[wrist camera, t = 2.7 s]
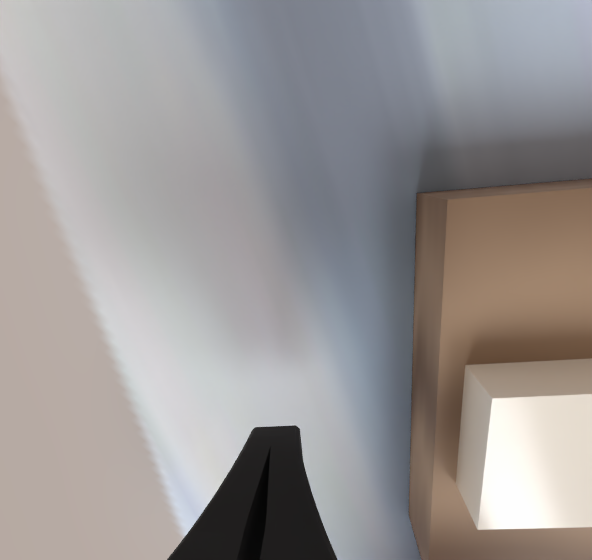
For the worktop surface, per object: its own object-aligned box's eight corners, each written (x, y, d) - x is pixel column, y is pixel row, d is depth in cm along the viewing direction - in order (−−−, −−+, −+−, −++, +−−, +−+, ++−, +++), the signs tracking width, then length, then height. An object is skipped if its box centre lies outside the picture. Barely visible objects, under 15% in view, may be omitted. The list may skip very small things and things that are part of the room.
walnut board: (671, 508, 14) (743, 576, 12) (408, 515, 15) (427, 580, 13) (792, 161, 10) (943, 158, 8) (416, 193, 11) (447, 199, 8)
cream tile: (599, 478, 11) (643, 526, 9) (455, 483, 11) (477, 529, 10) (629, 356, 9) (686, 389, 8) (465, 364, 10) (492, 398, 8)
